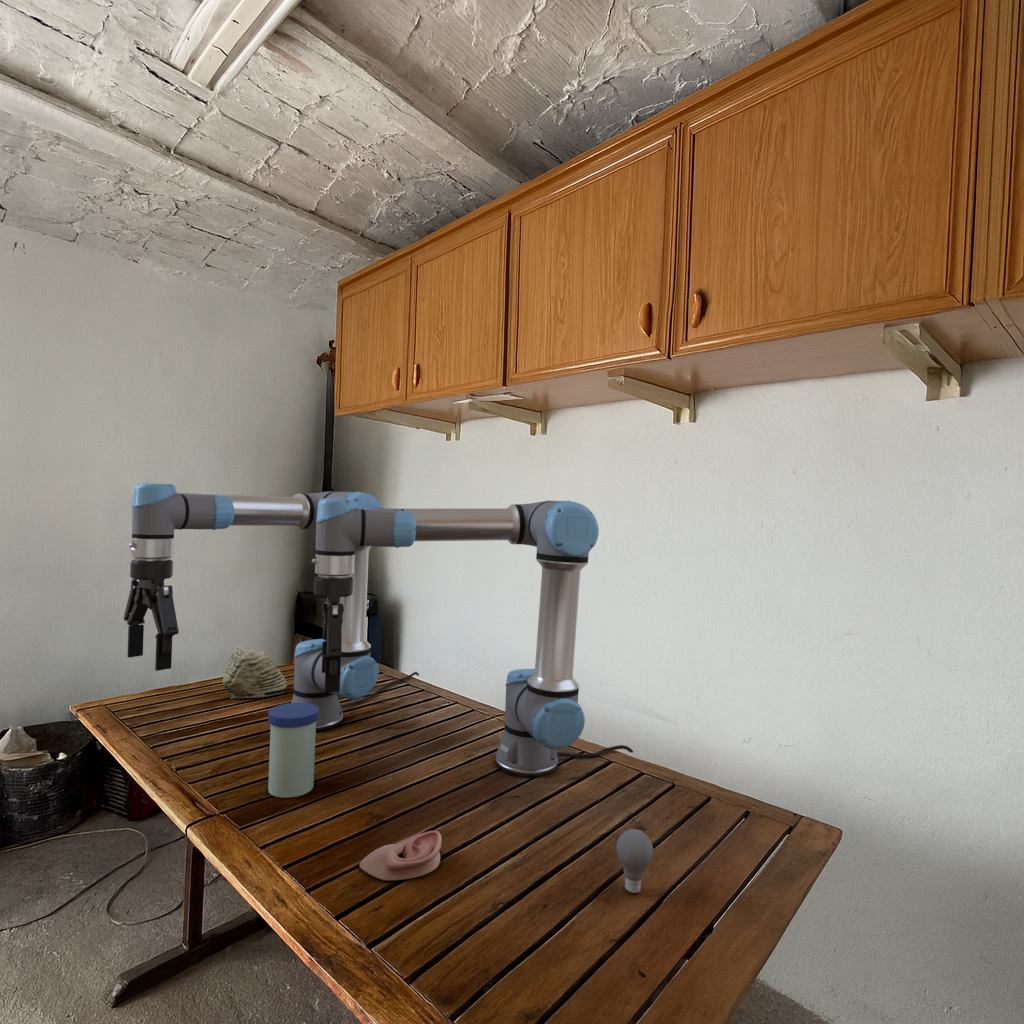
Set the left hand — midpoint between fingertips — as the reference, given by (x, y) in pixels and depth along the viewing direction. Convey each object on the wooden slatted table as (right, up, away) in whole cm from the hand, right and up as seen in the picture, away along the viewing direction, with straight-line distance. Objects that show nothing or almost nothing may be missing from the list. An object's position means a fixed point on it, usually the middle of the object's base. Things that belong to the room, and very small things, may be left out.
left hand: (148, 662), depth 129 cm
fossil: (-6, -27, +69) cm, 74 cm away
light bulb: (+94, -33, -24) cm, 103 cm away
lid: (+27, -13, +8) cm, 31 cm away
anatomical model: (+55, -31, -18) cm, 66 cm away
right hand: (+38, -3, -3) cm, 38 cm away
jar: (+26, -29, +8) cm, 40 cm away
